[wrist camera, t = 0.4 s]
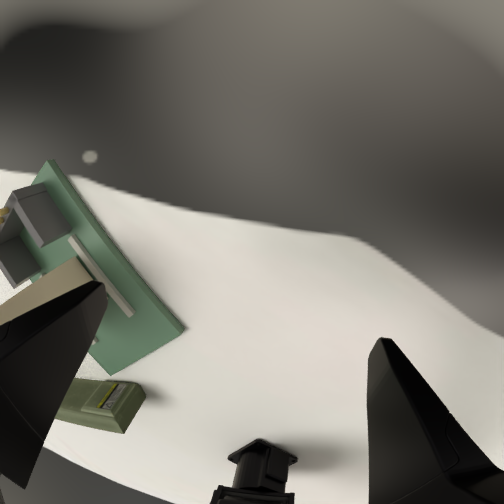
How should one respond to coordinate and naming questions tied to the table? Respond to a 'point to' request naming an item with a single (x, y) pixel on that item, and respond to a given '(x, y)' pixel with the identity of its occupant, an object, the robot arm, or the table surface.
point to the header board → (92, 259)
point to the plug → (45, 289)
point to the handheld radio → (101, 404)
